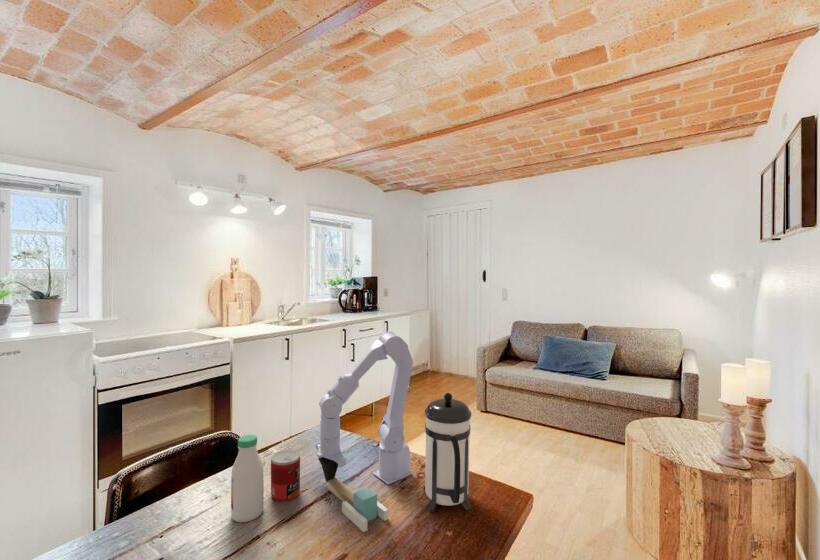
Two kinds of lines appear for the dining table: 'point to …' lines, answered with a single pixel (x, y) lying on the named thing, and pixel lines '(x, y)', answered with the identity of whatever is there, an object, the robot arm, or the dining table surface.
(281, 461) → the canned food
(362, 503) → the block
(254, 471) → the milk bottle
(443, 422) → the coffee press
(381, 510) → the channel
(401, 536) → the dining table surface
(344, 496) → the rod
